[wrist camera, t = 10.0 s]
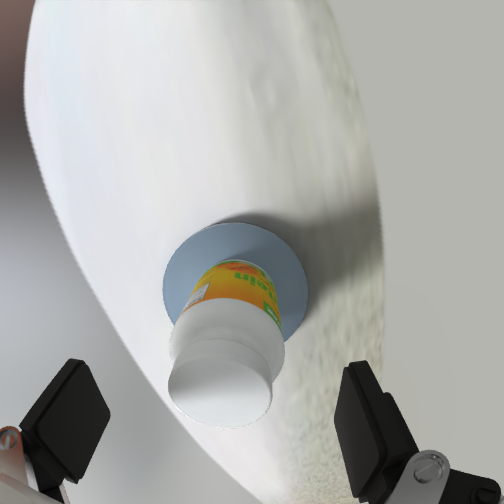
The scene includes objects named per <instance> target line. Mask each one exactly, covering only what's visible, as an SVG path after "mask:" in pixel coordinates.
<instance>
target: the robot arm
mask: <svg viewBox="0 0 504 504" xmlns="http://www.w3.org/2000/svg"><path fill="white" fill-rule="evenodd" d="M109 420H110V410H109V408H108V407H107V404H106V403H105V401H104V399H103V397H102V395H101V393H100V390H99V388H98V386H97V384H96V382H95V380H94V378H93V375H92V373H91V371H90V369H89V367H88V365H86V363H85V362H84V361H83V360H78V359H72V358H71V359H69V360H68V361H67V362H66V363H65V365H64V366H63V367H62V368H61V370H60V371H59V372H58V373H57V375H56V376H55V377H54V379H53V380H52V381H51V382H50V384H49V385H48V386H47V388H46V389H45V390H44V391H43V393H42V394H41V395H40V397H39V398H38V400H37V401H36V402H35V404H34V405H33V406H32V408H31V409H30V410H29V412H28V413H27V415H26V416H25V417H24V419H23V420H22V422H21V423H20V425H19V427H20V428H21V429H22V431H21V432H20V431H19V430H18V429H17V428H15V427H12V426H6V427H3V428H1V429H0V504H70V501H69V499H68V496H67V493H66V490H65V487H64V484H63V480H64V478H65V479H66V480H67V481H70V482H72V483H75V484H77V483H78V481H79V479H82V478H83V476H84V474H85V471H86V469H87V467H88V465H89V462H90V460H91V458H92V455H93V454H94V451H95V449H96V447H97V445H98V443H99V441H100V438H101V436H102V434H103V432H104V430H105V428H106V426H107V424H108V422H109ZM334 424H335V428H336V432H337V436H338V439H339V443H340V447H341V451H342V455H343V459H344V463H345V466H346V470H347V475H348V479H349V483H350V487H351V491H352V495H353V497H354V498H359V502H360V503H363V502H368V503H369V504H504V496H503V495H501V489H500V486H499V484H498V483H497V482H496V481H495V480H492V479H489V478H485V477H480V476H476V475H472V474H468V473H464V472H461V471H457V470H453V469H450V464H449V461H448V459H447V458H446V456H444V455H443V454H442V453H440V452H438V451H435V450H425V451H421V452H419V449H418V447H417V445H416V443H415V441H414V439H413V437H412V435H411V433H410V430H409V429H408V426H407V424H406V422H405V420H404V418H403V417H402V414H401V412H400V411H399V408H398V407H397V404H396V403H395V400H394V398H393V397H392V395H391V394H390V393H388V392H386V393H383V391H382V389H381V387H380V385H379V383H378V381H377V379H376V377H375V375H374V373H373V372H372V370H371V368H370V366H369V364H368V362H367V361H366V360H364V361H357V362H351V363H349V366H348V367H345V368H344V370H343V376H342V381H341V386H340V391H339V396H338V401H337V406H336V410H335V415H334Z"/></svg>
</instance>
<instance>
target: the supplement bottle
mask: <svg viewBox="0 0 504 504" xmlns="http://www.w3.org/2000/svg"><path fill="white" fill-rule="evenodd" d="M169 353H170V358H171V362H172V364H173V369H172V371H171V374H170V377H169V382H168V391H169V395H170V398H171V400H172V402H173V403H174V405H175V406H176V407H177V408H178V410H179V411H180V412H181V413H183V414H184V415H185V416H187V417H188V418H189V419H191V420H193V421H195V422H197V423H200V424H202V425H205V426H209V427H213V428H221V429H231V428H238V427H243V426H246V425H249V424H251V423H253V422H255V421H257V420H258V419H260V418H261V417H262V416H263V415H264V414H265V413H266V412H267V410H268V409H269V407H270V404H271V401H272V383H273V382H274V380H275V379H276V378H277V376H278V375H279V373H280V371H281V369H282V366H283V363H284V356H285V349H284V339H283V333H282V327H281V320H280V313H279V307H278V300H277V294H276V290H275V286H274V284H273V282H272V280H271V278H270V277H269V275H268V274H267V273H266V272H265V271H264V270H263V269H262V268H260V267H259V266H257V265H255V264H253V263H251V262H248V261H245V260H238V259H231V260H225V261H222V262H219V263H217V264H215V265H213V266H212V267H210V268H209V269H208V270H207V271H206V272H205V273H204V274H203V275H202V276H201V278H200V279H199V281H198V283H197V284H196V286H195V288H194V290H193V292H192V294H191V295H190V297H189V299H188V301H187V303H186V305H185V307H184V309H183V310H182V312H181V314H180V316H179V318H178V319H177V321H176V323H175V326H174V328H173V330H172V333H171V337H170V341H169Z"/></svg>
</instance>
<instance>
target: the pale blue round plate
mask: <svg viewBox="0 0 504 504" xmlns="http://www.w3.org/2000/svg"><path fill="white" fill-rule="evenodd" d="M231 259H238V260H245V261H248V262H251V263H253V264H255V265H257V266H259V267H260V268H262V269H263V270H264V271H265V272H266V273H267V274H268V275H269V277H270V278H271V280H272V282H273V284H274V286H275V290H276V294H277V300H278V307H279V313H280V320H281V327H282V333H283V339H284V342H285V341H286V340H288V339H289V338H290V337H291V336H292V335H293V333H294V332H295V331H296V329H297V328H298V327H299V325H300V323H301V321H302V319H303V317H304V314H305V312H306V308H307V304H308V284H307V278H306V275H305V272H304V269H303V267H302V265H301V263H300V261H299V259H298V257H297V256H296V254H295V253H294V251H293V250H292V249H291V248H290V246H289V245H288V244H287V243H286V242H285V241H284V240H282V239H281V238H280V237H279V236H277V235H276V234H274V233H272V232H271V231H269V230H267V229H264V228H262V227H260V226H256V225H253V224H248V223H242V222H227V223H220V224H216V225H212V226H209V227H207V228H204V229H202V230H200V231H198V232H197V233H195V234H193V235H192V236H191V237H189V238H188V239H187V240H186V241H185V242H184V243H183V244H182V245H181V246H180V247H179V248H178V249H177V250H176V251H175V253H174V254H173V256H172V257H171V259H170V261H169V263H168V265H167V268H166V271H165V274H164V279H163V300H164V304H165V308H166V310H167V313H168V316H169V317H170V319H171V321H172V323H173V324H174V326H175V323H176V321H177V319H178V318H179V316H180V314H181V312H182V310H183V309H184V307H185V305H186V303H187V301H188V299H189V297H190V295H191V294H192V292H193V290H194V288H195V286H196V284H197V283H198V281H199V279H200V278H201V276H202V275H203V274H204V273H205V272H206V271H207V270H208V269H209V268H210V267H212V266H213V265H215V264H217V263H219V262H222V261H225V260H231Z"/></svg>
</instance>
